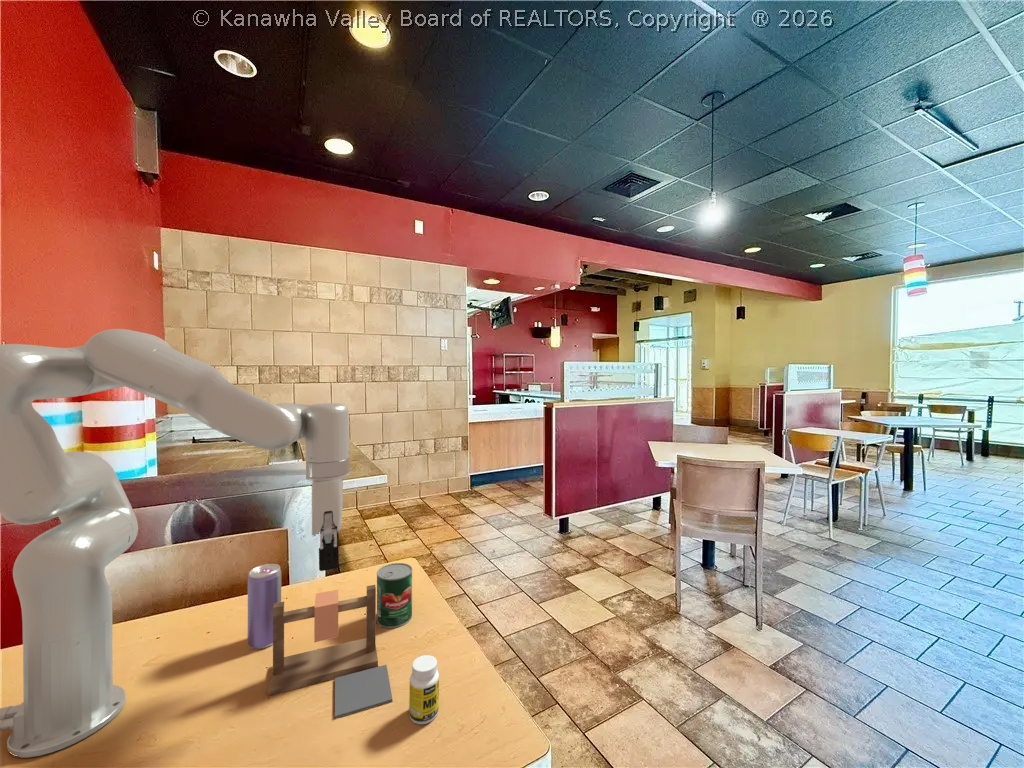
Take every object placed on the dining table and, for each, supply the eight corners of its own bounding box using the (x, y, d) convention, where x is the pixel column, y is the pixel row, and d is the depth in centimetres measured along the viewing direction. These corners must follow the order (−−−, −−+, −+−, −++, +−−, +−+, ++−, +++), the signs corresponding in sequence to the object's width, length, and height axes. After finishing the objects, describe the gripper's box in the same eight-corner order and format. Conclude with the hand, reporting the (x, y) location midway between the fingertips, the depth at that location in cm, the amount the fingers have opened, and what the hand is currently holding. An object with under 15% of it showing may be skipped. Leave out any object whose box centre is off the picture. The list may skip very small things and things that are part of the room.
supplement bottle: (424, 730, 63) (424, 677, 63) (403, 717, 66) (403, 666, 66) (444, 709, 67) (445, 659, 67) (424, 697, 70) (424, 649, 70)
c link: (314, 642, 74) (314, 607, 74) (315, 626, 78) (315, 593, 78) (338, 636, 75) (338, 603, 75) (338, 621, 80) (338, 589, 80)
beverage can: (265, 652, 81) (265, 578, 80) (240, 648, 82) (240, 574, 82) (287, 634, 86) (287, 564, 86) (263, 630, 88) (264, 561, 87)
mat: (334, 718, 65) (334, 716, 65) (335, 680, 73) (335, 678, 73) (392, 701, 69) (392, 699, 69) (386, 666, 77) (386, 664, 77)
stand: (268, 695, 70) (269, 617, 70) (275, 665, 77) (275, 594, 77) (377, 666, 77) (378, 596, 77) (374, 641, 84) (374, 577, 84)
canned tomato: (397, 604, 98) (397, 559, 98) (419, 615, 94) (419, 568, 93) (369, 620, 92) (369, 572, 92) (391, 633, 87) (391, 582, 87)
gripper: (308, 461, 83) (310, 544, 83) (302, 481, 67) (304, 583, 67) (348, 458, 86) (349, 537, 86) (350, 476, 70) (352, 574, 70)
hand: (329, 557), depth 77 cm, fingers open, 9 cm apart
